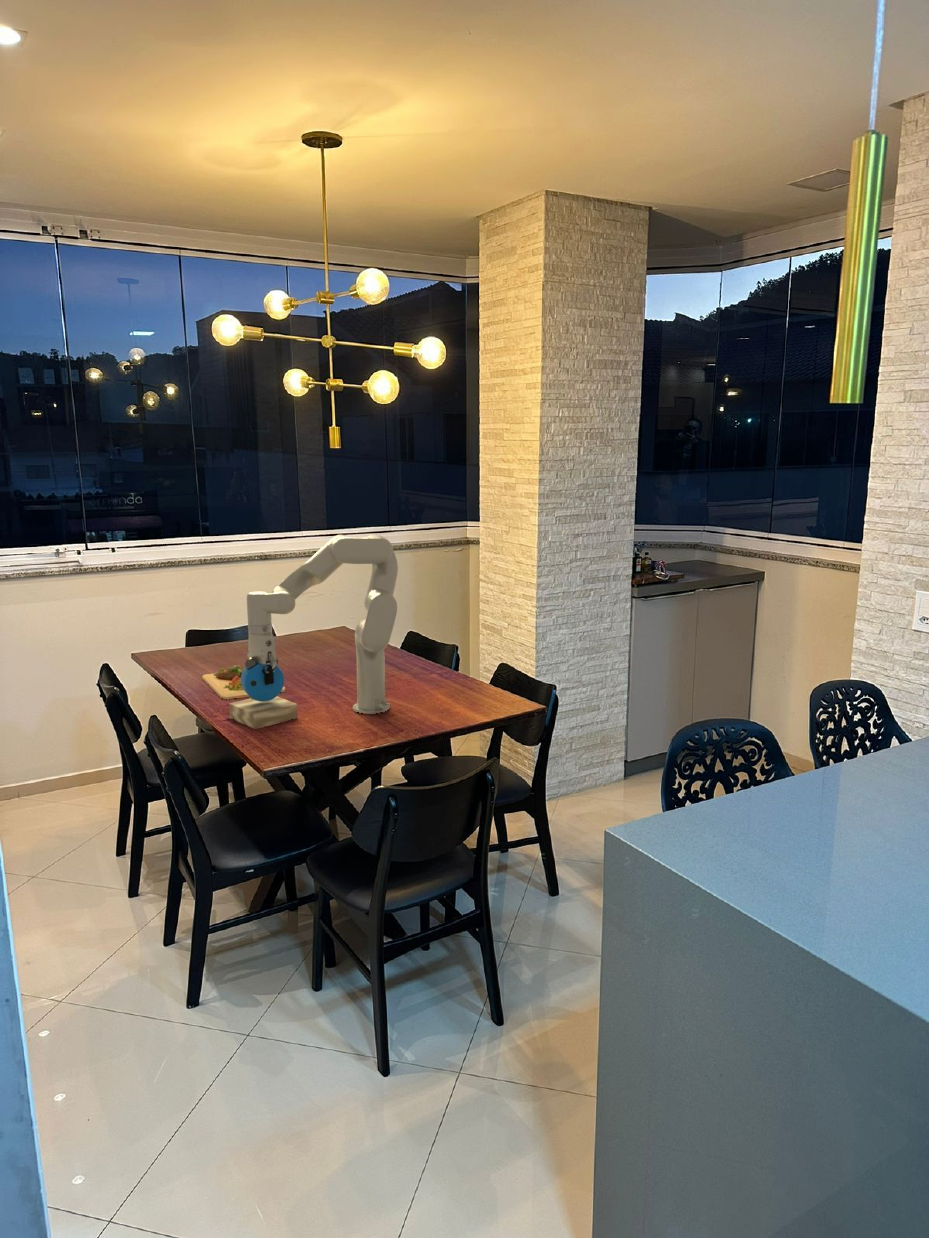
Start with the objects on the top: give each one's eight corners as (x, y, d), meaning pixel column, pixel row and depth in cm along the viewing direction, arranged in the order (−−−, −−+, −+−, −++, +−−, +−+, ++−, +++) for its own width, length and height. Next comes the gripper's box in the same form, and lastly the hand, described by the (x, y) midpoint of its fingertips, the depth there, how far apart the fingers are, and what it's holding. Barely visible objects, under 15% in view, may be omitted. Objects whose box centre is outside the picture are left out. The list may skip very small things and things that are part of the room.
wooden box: (297, 718, 283) (297, 703, 282) (255, 729, 272) (254, 714, 271) (271, 707, 295) (270, 693, 294) (229, 717, 284) (228, 703, 283)
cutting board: (287, 693, 315) (286, 673, 313) (223, 702, 303) (222, 681, 302) (260, 671, 344) (259, 653, 343) (201, 679, 333) (199, 660, 332)
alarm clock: (280, 694, 288) (278, 651, 285) (285, 699, 283) (283, 655, 280) (241, 700, 282) (239, 656, 279) (246, 705, 277) (243, 660, 274)
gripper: (284, 631, 274) (287, 684, 278) (255, 623, 286) (258, 674, 290) (264, 635, 269) (267, 689, 272) (235, 626, 281) (238, 678, 285)
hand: (262, 681), depth 281 cm, fingers closed on alarm clock, 7 cm apart
